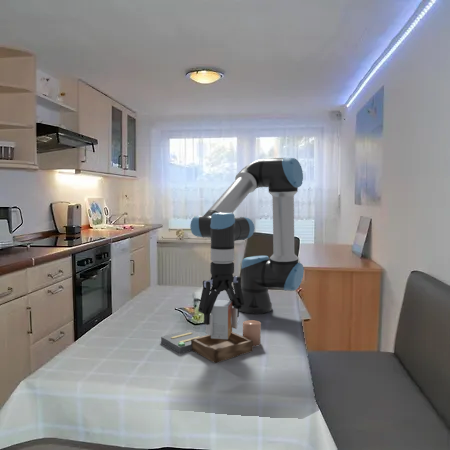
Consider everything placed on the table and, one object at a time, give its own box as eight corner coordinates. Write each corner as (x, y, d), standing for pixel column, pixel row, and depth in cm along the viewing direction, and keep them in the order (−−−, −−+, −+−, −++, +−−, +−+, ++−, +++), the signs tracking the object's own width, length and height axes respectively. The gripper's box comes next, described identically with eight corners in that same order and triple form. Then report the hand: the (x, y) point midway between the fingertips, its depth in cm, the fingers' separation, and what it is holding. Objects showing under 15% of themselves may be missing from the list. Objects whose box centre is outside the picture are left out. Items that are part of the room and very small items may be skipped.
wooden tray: (227, 339, 141) (227, 329, 141) (252, 351, 131) (252, 340, 130) (191, 349, 132) (191, 339, 131) (215, 363, 121) (215, 351, 121)
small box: (227, 340, 126) (228, 306, 125) (210, 338, 127) (210, 305, 127) (232, 331, 134) (232, 300, 133) (216, 330, 135) (216, 299, 134)
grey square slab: (190, 334, 145) (190, 327, 145) (210, 344, 136) (210, 337, 136) (161, 342, 138) (161, 334, 138) (180, 353, 128) (180, 345, 128)
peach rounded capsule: (252, 338, 142) (252, 319, 141) (264, 343, 137) (264, 323, 137) (239, 342, 138) (239, 322, 138) (250, 347, 134) (251, 327, 133)
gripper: (241, 256, 139) (240, 321, 140) (186, 263, 125) (186, 334, 127) (256, 259, 133) (255, 326, 134) (200, 266, 119) (200, 341, 121)
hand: (221, 330), depth 131 cm, fingers closed on small box, 9 cm apart
